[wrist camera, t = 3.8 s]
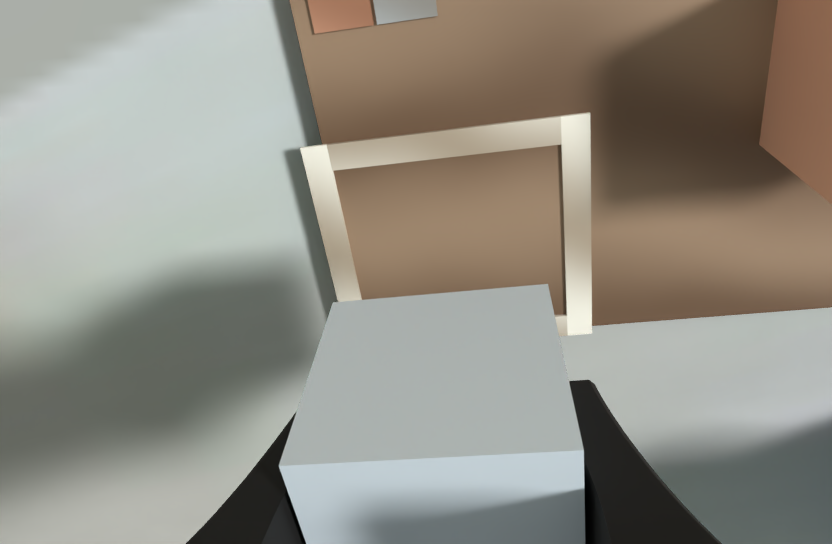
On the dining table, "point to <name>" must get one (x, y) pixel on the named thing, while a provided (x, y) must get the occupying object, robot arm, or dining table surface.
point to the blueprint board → (558, 156)
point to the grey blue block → (438, 424)
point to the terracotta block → (801, 93)
